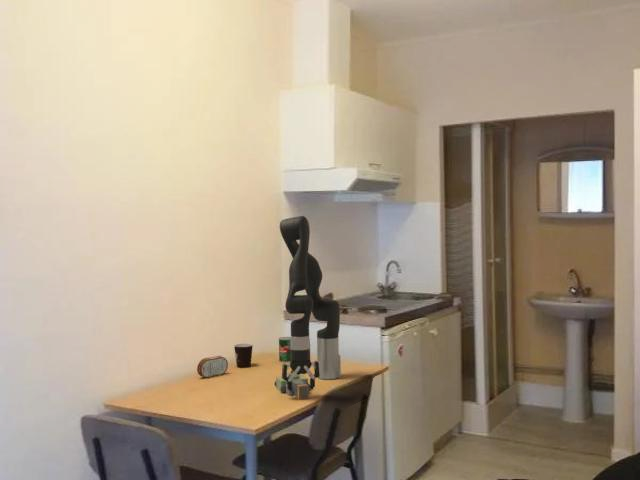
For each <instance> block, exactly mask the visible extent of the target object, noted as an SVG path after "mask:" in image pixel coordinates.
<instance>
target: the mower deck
mask: <svg viewBox="0 0 640 480" xmlns="http://www.w3.org/2000/svg"><path fill="white" fill-rule="evenodd" d="M288 375H289V373H287V377H288ZM294 380H301V381H303V382H304V383H305V384H307V385H308V395H309V394H310V390H311V388H310V383H309V378H307V376H305V374H300V375H297V374H296V375H295V376H294V377H293V379H292V380H291V381H294ZM273 384H274V386H275V388H276V390H278V391H279V392H281V393H283V394H287V396H289V397H290V396H291V397H292V396H293V394H292V391H289V390H288V388H287V381H286V380H284V379H282V375H280V376H276V377H275V381H274V383H273Z"/></svg>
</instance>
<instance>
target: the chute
mask: <svg viewBox="0 0 640 480" xmlns="http://www.w3.org/2000/svg"><path fill="white" fill-rule="evenodd" d="M292 396H294V397H295V398H297V400H309V394H308V385H307V384H305V383H304V382H303V381H301V380H294V381H292Z"/></svg>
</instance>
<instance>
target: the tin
mask: <svg viewBox="0 0 640 480" xmlns="http://www.w3.org/2000/svg"><path fill="white" fill-rule="evenodd" d="M228 367H229V363H228V359H226V358H225V357H224V356H222V355H217V356H211V357H204V358H202V359H201V360H200V361H199V362H198V364H197V367H196V368H197V369H196V371H197V375H198V376H199V377H202V378H206V379H208V378H213V377H218V376H222V375H224V374H225V373H226V372H227V370H228Z"/></svg>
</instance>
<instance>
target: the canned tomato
mask: <svg viewBox="0 0 640 480" xmlns="http://www.w3.org/2000/svg"><path fill="white" fill-rule="evenodd" d="M290 341H291V336H283V337H279V338H278V355H279V357H278V361H279V363H280V362H281V363H290V362H291V350H290Z"/></svg>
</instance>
